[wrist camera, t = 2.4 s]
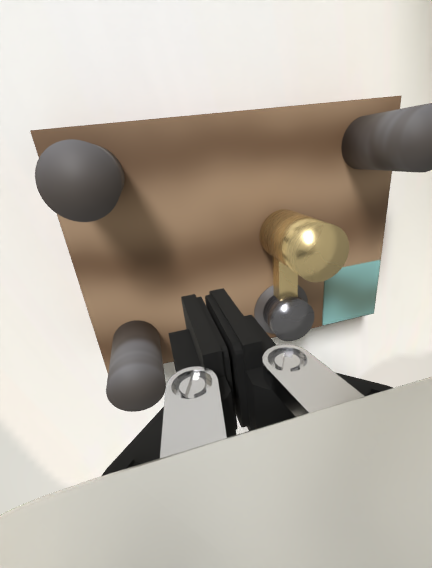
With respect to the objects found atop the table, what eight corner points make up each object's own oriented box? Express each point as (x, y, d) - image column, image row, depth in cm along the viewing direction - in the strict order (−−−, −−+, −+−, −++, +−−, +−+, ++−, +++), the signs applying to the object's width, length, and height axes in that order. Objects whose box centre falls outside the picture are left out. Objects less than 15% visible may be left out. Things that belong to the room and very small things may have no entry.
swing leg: (301, 323, 24) (340, 361, 19) (263, 332, 23) (294, 373, 19) (303, 205, 20) (351, 219, 16) (258, 213, 20) (294, 229, 15)
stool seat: (46, 134, 18) (-14, 119, 11) (368, 103, 22) (482, 76, 15) (112, 352, 25) (101, 433, 17) (351, 298, 28) (424, 346, 21)
